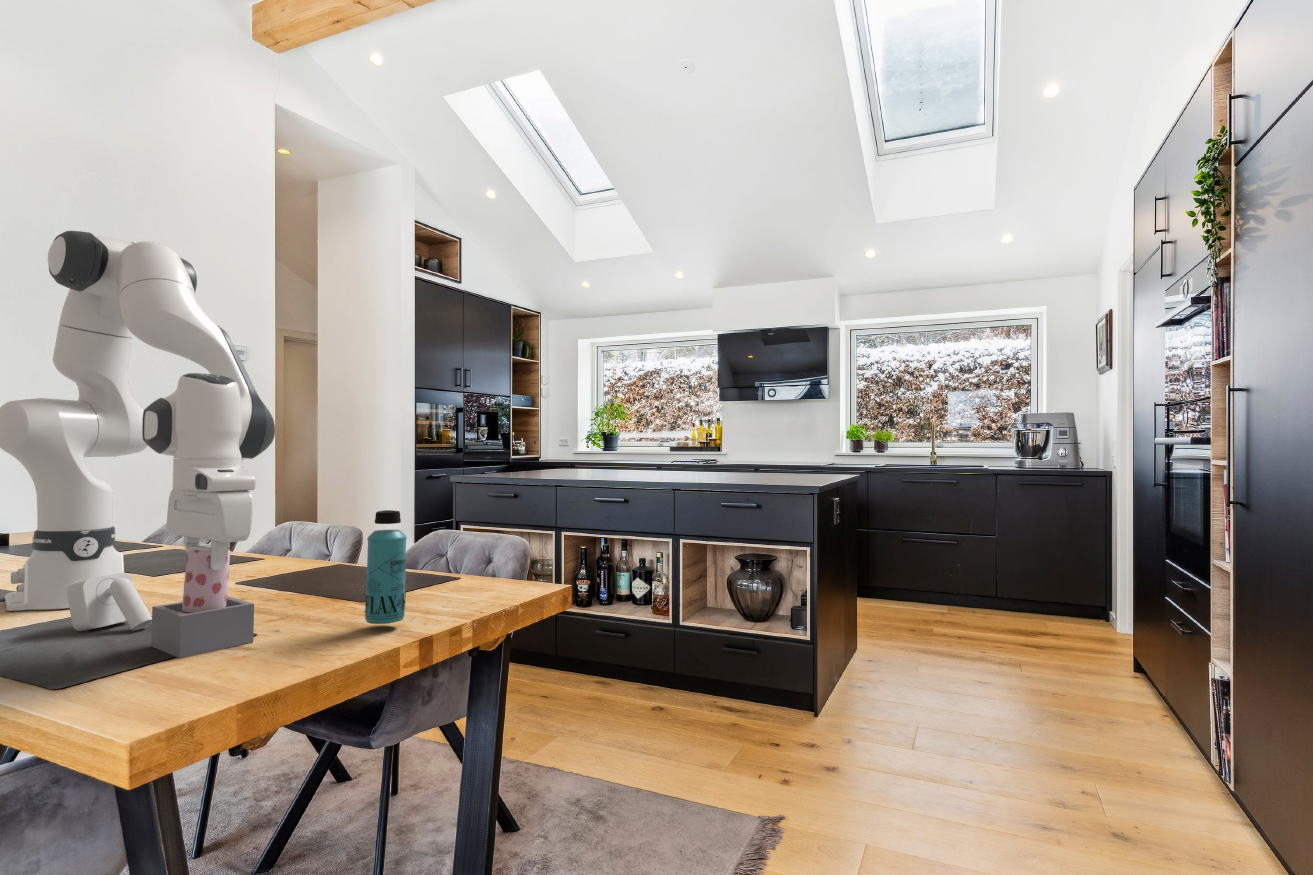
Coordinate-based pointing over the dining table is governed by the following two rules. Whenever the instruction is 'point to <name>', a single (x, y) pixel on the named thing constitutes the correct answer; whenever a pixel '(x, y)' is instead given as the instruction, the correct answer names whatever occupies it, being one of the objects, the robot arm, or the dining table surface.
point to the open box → (201, 628)
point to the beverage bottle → (386, 572)
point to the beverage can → (204, 581)
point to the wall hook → (106, 603)
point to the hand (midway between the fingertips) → (205, 567)
